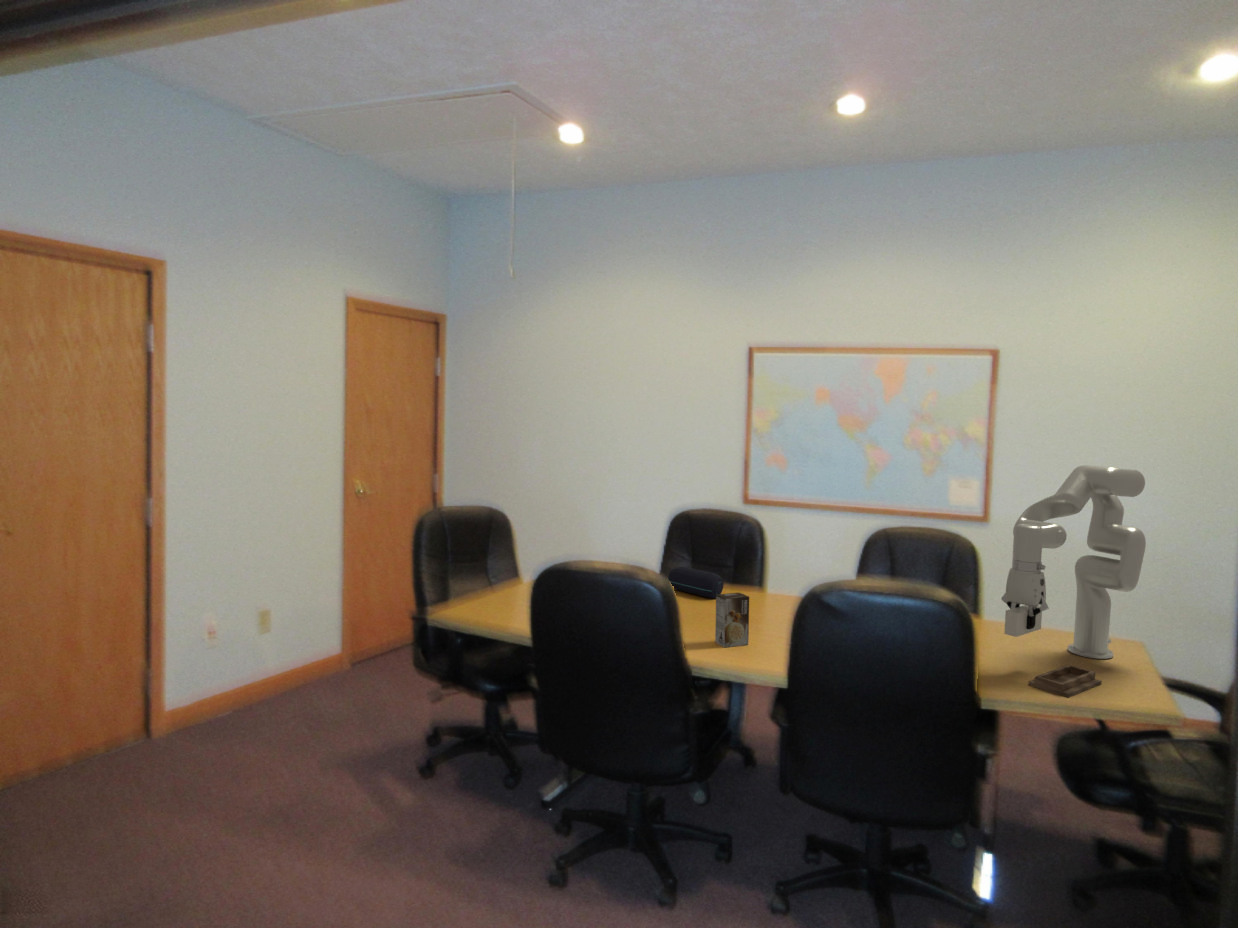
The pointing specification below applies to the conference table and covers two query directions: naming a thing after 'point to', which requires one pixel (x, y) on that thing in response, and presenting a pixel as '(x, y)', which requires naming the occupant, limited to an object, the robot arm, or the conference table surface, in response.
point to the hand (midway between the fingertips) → (1023, 626)
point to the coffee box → (732, 619)
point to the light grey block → (1020, 621)
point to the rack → (1066, 681)
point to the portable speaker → (696, 581)
